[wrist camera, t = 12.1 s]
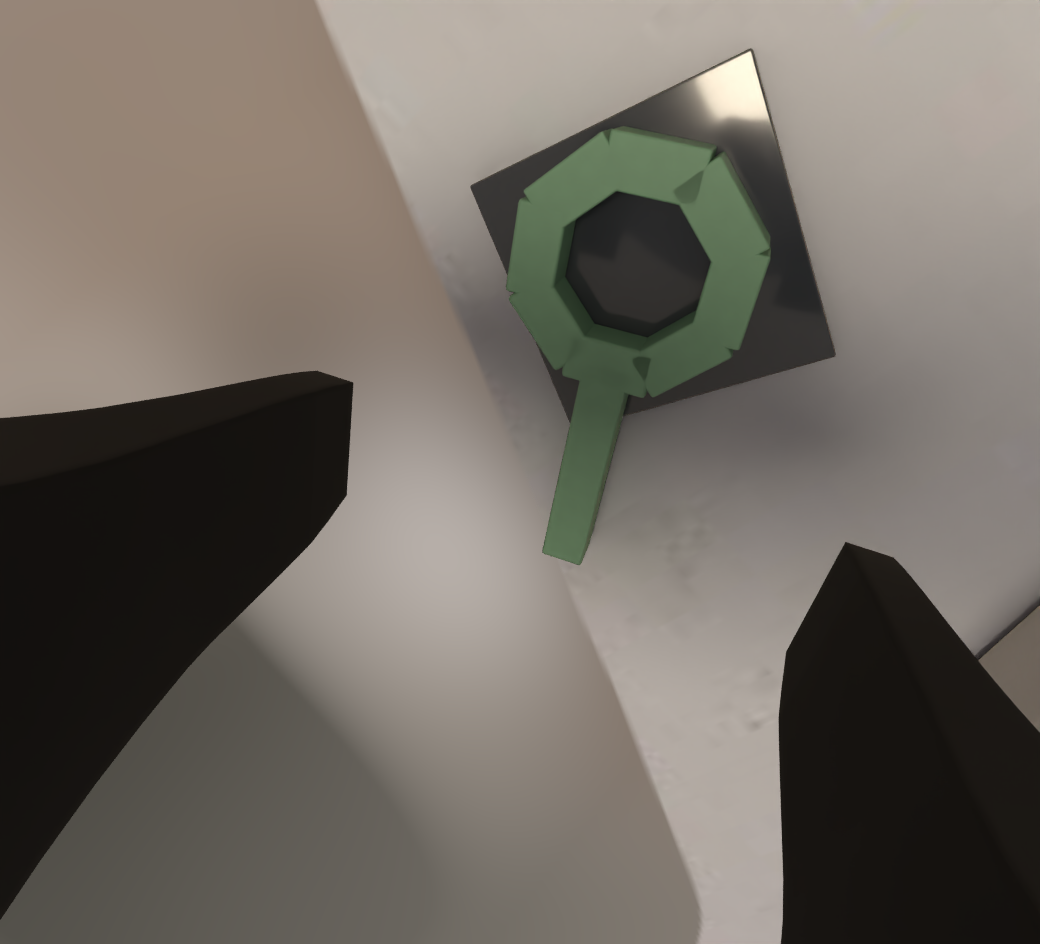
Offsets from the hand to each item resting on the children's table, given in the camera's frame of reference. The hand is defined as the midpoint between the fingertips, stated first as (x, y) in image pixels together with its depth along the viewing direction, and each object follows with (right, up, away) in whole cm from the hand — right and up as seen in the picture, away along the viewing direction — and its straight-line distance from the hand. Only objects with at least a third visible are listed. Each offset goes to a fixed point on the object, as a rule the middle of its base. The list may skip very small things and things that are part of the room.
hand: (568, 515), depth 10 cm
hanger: (+2, +3, +9) cm, 9 cm away
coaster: (+3, +6, +7) cm, 10 cm away
